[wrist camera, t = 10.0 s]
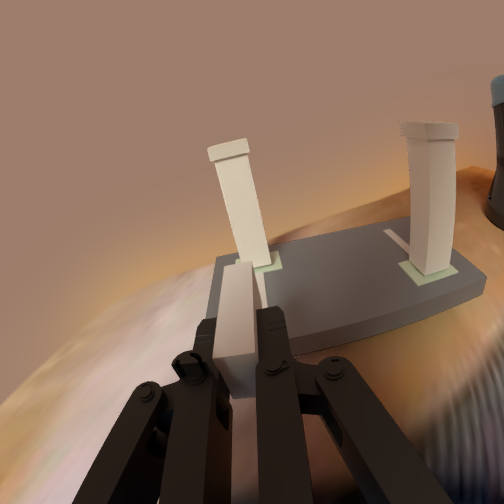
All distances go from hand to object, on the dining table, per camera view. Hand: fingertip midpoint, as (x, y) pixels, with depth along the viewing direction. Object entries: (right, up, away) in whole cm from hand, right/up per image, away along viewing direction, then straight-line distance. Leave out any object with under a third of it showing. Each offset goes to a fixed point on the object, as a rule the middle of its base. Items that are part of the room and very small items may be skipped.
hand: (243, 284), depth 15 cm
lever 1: (+1, +1, +15) cm, 15 cm away
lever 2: (+17, +1, +6) cm, 18 cm away
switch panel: (+9, -1, +11) cm, 15 cm away
